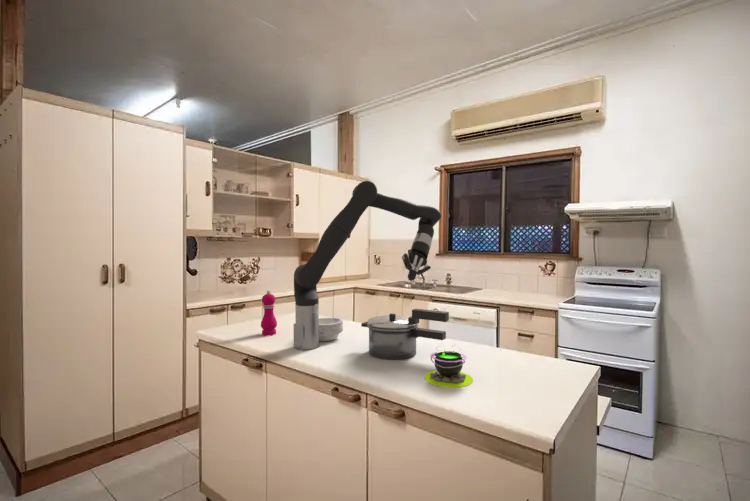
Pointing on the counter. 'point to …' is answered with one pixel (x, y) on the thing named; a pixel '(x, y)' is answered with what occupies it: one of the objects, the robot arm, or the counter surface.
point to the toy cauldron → (448, 370)
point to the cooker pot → (398, 341)
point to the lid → (407, 319)
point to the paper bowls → (329, 328)
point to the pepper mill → (268, 315)
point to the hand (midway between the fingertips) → (410, 279)
